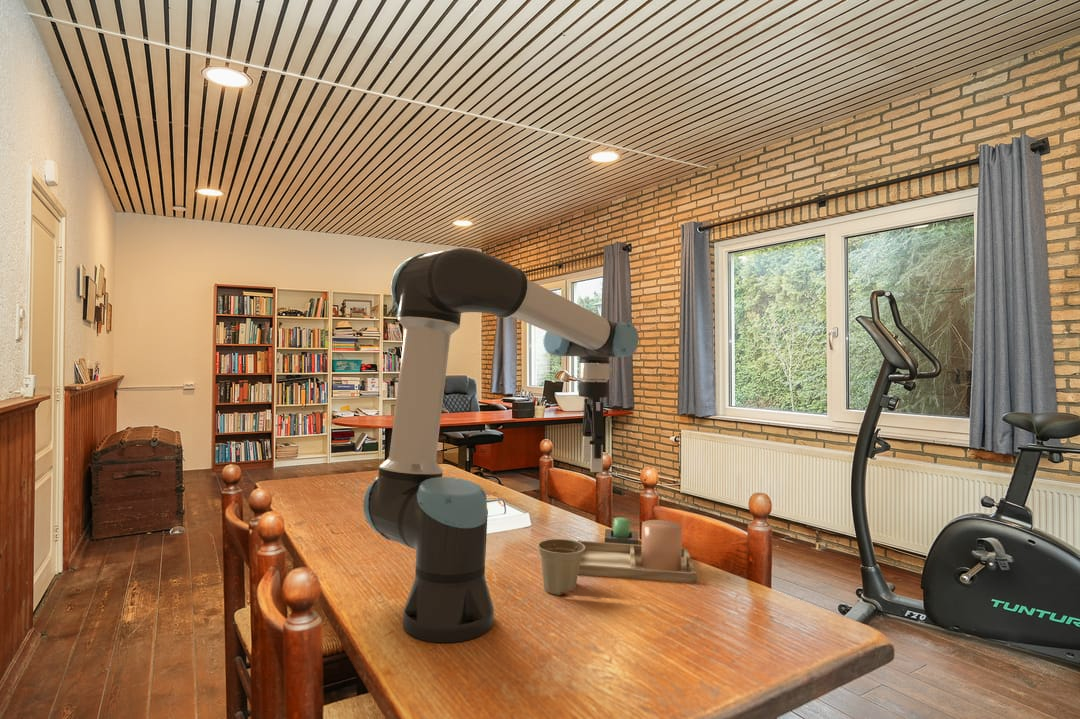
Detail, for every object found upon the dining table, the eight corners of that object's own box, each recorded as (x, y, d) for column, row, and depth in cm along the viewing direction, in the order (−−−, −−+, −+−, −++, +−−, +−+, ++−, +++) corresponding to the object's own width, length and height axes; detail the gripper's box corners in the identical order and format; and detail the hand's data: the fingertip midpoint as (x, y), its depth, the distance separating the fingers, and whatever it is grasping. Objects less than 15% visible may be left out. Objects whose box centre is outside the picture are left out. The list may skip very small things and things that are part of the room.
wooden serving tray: (696, 587, 121) (696, 574, 121) (572, 577, 124) (572, 564, 124) (686, 559, 139) (686, 548, 139) (577, 551, 142) (578, 540, 142)
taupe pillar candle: (682, 574, 126) (684, 531, 126) (641, 571, 127) (642, 529, 127) (678, 561, 134) (679, 521, 134) (640, 558, 136) (641, 518, 136)
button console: (638, 553, 142) (638, 540, 142) (604, 550, 143) (604, 538, 143) (637, 543, 150) (637, 531, 150) (605, 540, 151) (605, 529, 151)
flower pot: (584, 582, 122) (585, 540, 122) (583, 600, 112) (584, 554, 112) (538, 579, 123) (540, 537, 123) (533, 597, 113) (535, 551, 113)
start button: (629, 542, 144) (630, 522, 144) (613, 541, 145) (613, 520, 145) (629, 538, 148) (630, 517, 148) (613, 537, 149) (613, 516, 149)
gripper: (619, 383, 136) (616, 476, 136) (600, 379, 161) (598, 458, 161) (586, 382, 135) (584, 476, 135) (572, 378, 160) (570, 458, 160)
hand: (592, 466), depth 148 cm, fingers open, 13 cm apart
